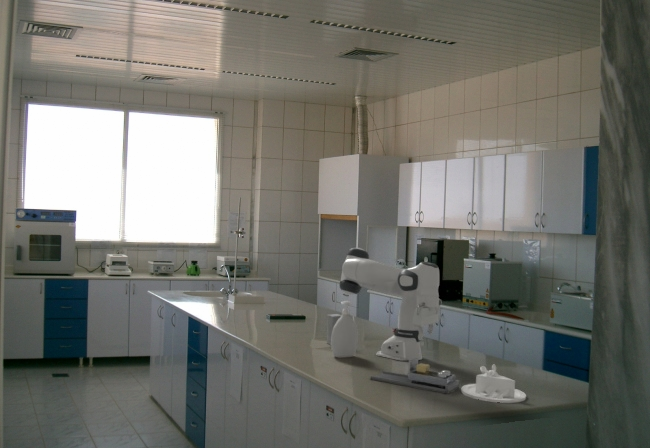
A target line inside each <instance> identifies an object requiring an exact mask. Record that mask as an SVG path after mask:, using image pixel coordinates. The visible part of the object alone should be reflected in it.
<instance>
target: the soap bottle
mask: <svg viewBox="0 0 650 448" xmlns="http://www.w3.org/2000/svg"><path fill="white" fill-rule="evenodd" d="M340 304H341V305H342V306H344V308H342V310H341V311H342V312H341V315H342V316H341V317H340V318H339V319H338V320H337V322H336V324H335V325H334V327H333V331H332V336H331V345H330V348H331V349H330V350H331V352H332V354H333V356H334V357H335V358H337V359H338V358H341V359H342V358H344V359H345V358H352V357H354V356H355V354H356V352H357V348H358V344H359V332H358V327H357V324H356V322H355V321H354V320H353V318H352V317H351V315H350V314H351V310H350V308H348V306H352V303H351V302H350V301H349V300H344V301H340Z"/></svg>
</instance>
